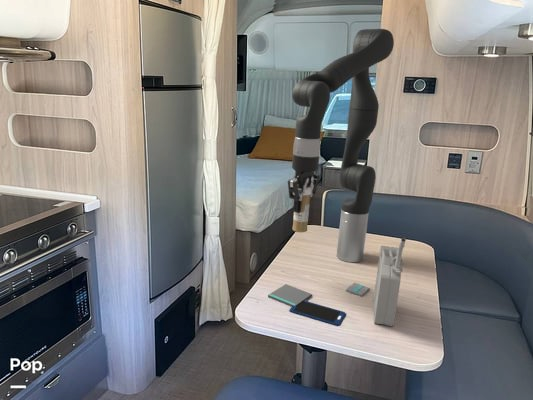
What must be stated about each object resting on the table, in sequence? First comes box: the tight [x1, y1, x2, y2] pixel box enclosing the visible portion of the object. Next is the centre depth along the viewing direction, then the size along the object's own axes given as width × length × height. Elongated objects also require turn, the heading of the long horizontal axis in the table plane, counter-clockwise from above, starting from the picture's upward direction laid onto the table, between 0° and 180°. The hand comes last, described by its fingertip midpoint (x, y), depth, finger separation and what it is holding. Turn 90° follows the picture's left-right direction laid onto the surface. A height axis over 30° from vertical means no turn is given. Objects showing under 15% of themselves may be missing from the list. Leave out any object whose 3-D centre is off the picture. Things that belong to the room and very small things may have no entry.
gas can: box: [372, 237, 407, 327], centre depth 113 cm, size 15×5×25 cm, turn 168°
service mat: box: [267, 283, 313, 308], centre depth 124 cm, size 9×9×1 cm
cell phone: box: [288, 300, 347, 327], centre depth 116 cm, size 7×14×1 cm, turn 64°
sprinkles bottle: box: [292, 187, 311, 233], centre depth 128 cm, size 5×5×13 cm
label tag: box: [345, 282, 371, 297], centre depth 130 cm, size 6×5×1 cm
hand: (301, 210), depth 129 cm, fingers closed on sprinkles bottle, 4 cm apart
